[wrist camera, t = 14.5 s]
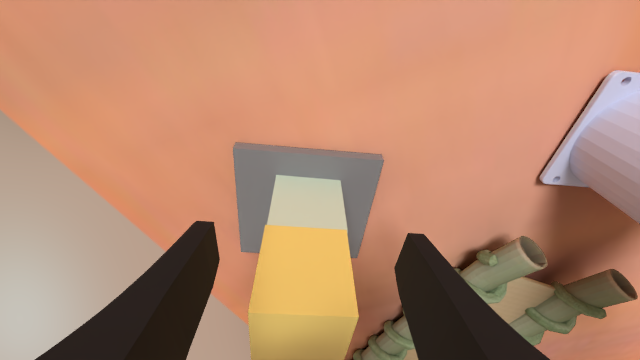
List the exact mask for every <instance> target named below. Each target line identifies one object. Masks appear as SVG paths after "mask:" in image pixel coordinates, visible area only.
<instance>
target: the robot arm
mask: <svg viewBox="0 0 640 360" xmlns="http://www.w3.org/2000/svg"><path fill="white" fill-rule="evenodd" d="M623 79H624V81H623V82H622V80H623ZM621 82H622V83H621ZM540 181H542V182H543V183H544V184H553V185H565V186H578V187H590V188H591V189H593V190H594V191H595V192H597V193H598V194H600V195H601V196H602V197H604V198H605V199H606V200H608V201H609V202H610V203H612V204H613V205H614V206H616V207H617V208H619V209H620V210H621V211H623V212H624V213H625V214H627V215H628V216H629V217H631V218H632V219H633V220H635V221H636V222H638V223H639V224H640V73H639V72H630V71H622V70H616V71H613V72H611V73H610V74H609V75H608V76H607V77H606V78H605V79H604V81H603V82H602V84H601V85H600V87H599V88H598V90H597V91H596V93H595V94H594V96H593V97H592V99H591V100H590V102H589V103H588V105H587V106H586V108H585V109H584V111H583V112H582V114H581V115H580V117H579V118H578V120H577V121H576V123H575V124H574V126H573V127H572V129H571V130H570V132H569V133H568V135H567V136H566V138H565V139H564V141H563V142H562V144H561V145H560V147H559V148H558V150H557V151H556V153H555V154H554V156H553V157H552V159H551V160H550V162H549V163H548V165H547V166H546V168H545V169H544V171H543V172H542V174H541V175H540ZM219 260H220V259H219V252H218V246H217V240H216V233H215V227H214V222H206V221H196V222H195V223H193V224H192V225H191V226H190V228H189V229H188V230H187V231H186V232H185V233H184V234H183V235H182V236H181V237H180V238H179V239H178V240H177V241H176V242H175V243H174V244H173V245H172V246H171V247H170V248H169V249H168V250H167V251H166V252H165V253H164V254H163V255H162V256H161V257H160V258H159V259H158V260H157V261H156V262H155V263H154V264H153V265H152V266H151V267H150V268H149V269H148V270H147V271H146V272H145V273H144V274H143V275H142V276H140V277H139V278H138V279H137V280H136V281H135V282H134V283H133V284H132V285H130V286H129V287H128V288H127V289H126V290H125V291H124V292H123V293H122V294H120V295H119V296H118V297H117V298H116V299H114V300H113V301H112V302H111V303H110V304H108V305H107V306H106V307H105V308H104V309H103V310H101V311H100V312H99V313H98V314H96V315H95V316H94V317H92V318H91V319H90V320H89V321H87V322H86V323H85V324H83V325H82V326H81V327H79V328H78V329H77V330H76V331H74V332H73V333H71V334H70V335H69V336H67V337H66V338H65V339H63V340H62V341H61V342H59V343H58V344H56V345H55V346H54V347H52V348H51V349H50V350H48V351H47V352H45V353H44V354H42V355H41V356H39V357H38V358H37V359H35V360H186V358H187V355H188V352H189V349H190V346H191V343H192V341H193V338H194V336H195V333H196V330H197V328H198V325H199V322H200V320H201V317H202V314H203V312H204V309H205V307H206V304H207V301H208V298H209V296H210V293H211V290H212V288H213V284H214V280H215V277H216V273H217V268H218V264H219ZM395 274H396V281H397V286H398V292H399V296H400V300H401V303H402V307H403V310H404V313H405V317H406V320H407V323H408V327H409V330H410V333H411V337H412V340H413V343H414V347H415V350H416V353H417V357H418V360H550V359H549V358H547V357H546V356H545V355H544V354H542V353H541V352H540V351H539V350H538V349H536V348H535V347H534V346H533V345H532V344H530V343H529V342H528V341H527V340H526V339H525V338H523V337H522V336H521V335H520V334H519V333H518V332H517V331H516V330H515V329H513V328H512V327H511V326H510V325H509V324H508V323H507V322H506V321H505V320H503V319H502V318H501V317H500V316H499V315H498V314H497V313H496V312H495V311H494V310H493V309H492V308H491V307H490V306H489V305H488V304H487V303H486V302H485V301H484V300H483V299H482V298H481V297H480V296H479V295H478V294H477V293H476V292H475V291H474V290H473V289H472V288H471V287H470V286H469V285H468V283H467V282H466V281H465V280H464V279H463V278H462V277H461V276H460V275H459V274H458V273H457V271H456V270H455V269H454V268H453V267H452V266H451V265H450V264H449V262H448V261H447V260H446V259H445V258H444V257H443V256H442V254H441V253H440V252H439V251H438V250H437V249H436V247H435V246H434V245H433V244H432V243H431V242H430V241H429V239H428V238H427V237H426V236H425V235H424V234H414V233H408V235H407V237H406V240H405V242H404V245H403V247H402V250H401V252H400V255H399V258H398V260H397V263H396V265H395Z"/></svg>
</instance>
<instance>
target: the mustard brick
mask: <svg viewBox="0 0 640 360" xmlns="http://www.w3.org/2000/svg"><path fill="white" fill-rule="evenodd" d="M358 318H359V315H358V308H357V301H356V293H355V286H354V279H353V272H352V264H351V257H350V250H349V243H348V235H347V230H341V229H325V228H309V227H293V226H277V225H265V228H264V233H263V238H262V244H261V249H260V254H259V259H258V264H257V269H256V274H255V279H254V284H253V289H252V294H251V299H250V305H249V310H248V322H249V336H250V349H251V360H344V359H345V356H346V353H347V350H348V347H349V344H350V341H351V338H352V335H353V332H354V330H355V327H356V324H357V321H358Z"/></svg>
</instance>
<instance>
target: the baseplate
mask: <svg viewBox="0 0 640 360" xmlns="http://www.w3.org/2000/svg"><path fill="white" fill-rule="evenodd" d="M233 155H234V168H235V181H236V193H237V206H238V219H239V231H240V244H241V252H252V253H260V249H261V244H262V238H263V233H264V228H265V225H267V221H268V216H269V211H270V206H271V200H272V195H273V190H274V185H275V179H276V175H285V176H296V177H308V178H320V179H331V180H341V187H342V194H343V201H344V208H345V215H346V222H347V229H348V233H347V235H348V243H349V250H350V257H351V258H357V257H358V253H359V249H360V246H361V242H362V239H363V235H364V231H365V228H366V224H367V220H368V217H369V213H370V209H371V206H372V202H373V198H374V195H375V191H376V187H377V184H378V180H379V176H380V173H381V169H382V166H383V162H384V160H383V157H382V155H380V154H368V153H357V152H345V151H333V150H321V149H309V148H297V147H285V146H273V145H261V144H249V143H237V142H236V143H235V145H234V147H233Z"/></svg>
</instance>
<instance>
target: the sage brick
mask: <svg viewBox="0 0 640 360" xmlns="http://www.w3.org/2000/svg"><path fill="white" fill-rule="evenodd" d="M267 225H277V226H293V227H309V228H325V229H341V230H347V233H348V229H347V222H346V215H345V208H344V201H343V194H342V187H341V180H331V179H320V178H308V177H296V176H285V175H276V179H275V185H274V190H273V195H272V200H271V206H270V211H269V216H268V221H267Z"/></svg>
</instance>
